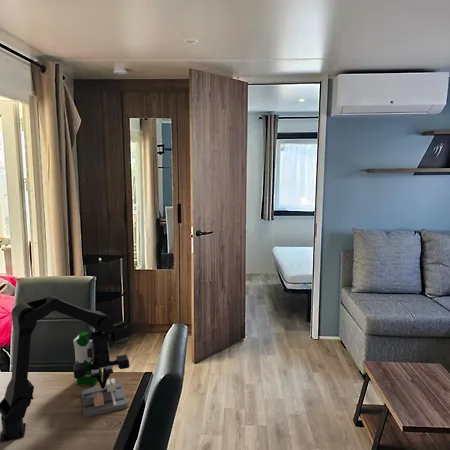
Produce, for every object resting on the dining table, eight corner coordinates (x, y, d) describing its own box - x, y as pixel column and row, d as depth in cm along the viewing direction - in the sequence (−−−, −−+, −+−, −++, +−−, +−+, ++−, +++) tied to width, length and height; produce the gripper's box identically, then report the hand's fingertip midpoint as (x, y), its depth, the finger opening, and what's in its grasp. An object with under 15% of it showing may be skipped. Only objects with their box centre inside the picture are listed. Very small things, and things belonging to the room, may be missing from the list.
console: (127, 407, 133) (127, 402, 132) (84, 417, 127) (83, 412, 127) (121, 385, 146) (120, 381, 146) (81, 393, 141) (81, 389, 141)
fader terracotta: (103, 405, 131) (103, 397, 130) (94, 407, 130) (94, 399, 129) (102, 398, 134) (102, 391, 134) (93, 400, 133) (93, 393, 133)
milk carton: (73, 386, 146) (70, 335, 143) (84, 373, 155) (81, 326, 152) (95, 387, 145) (93, 336, 142) (105, 374, 154) (103, 326, 151)
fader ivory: (116, 390, 140) (115, 383, 139) (107, 392, 138) (106, 385, 138) (114, 384, 143) (114, 377, 143) (106, 386, 142) (105, 379, 142)
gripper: (123, 334, 148) (125, 372, 151) (71, 342, 141) (74, 382, 143) (128, 345, 138) (130, 386, 141) (72, 356, 131) (75, 398, 133)
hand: (102, 388), depth 140 cm, fingers closed
